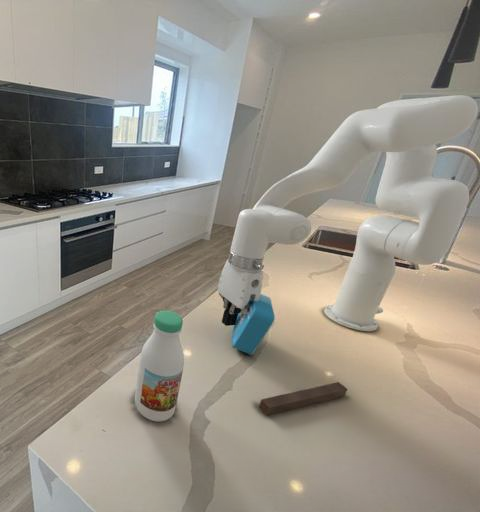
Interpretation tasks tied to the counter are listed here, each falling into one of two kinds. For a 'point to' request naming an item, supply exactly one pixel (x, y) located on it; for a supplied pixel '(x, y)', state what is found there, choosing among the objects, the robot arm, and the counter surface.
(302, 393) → the strip
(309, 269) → the counter surface
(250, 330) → the data package
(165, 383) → the milk bottle
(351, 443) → the counter surface
